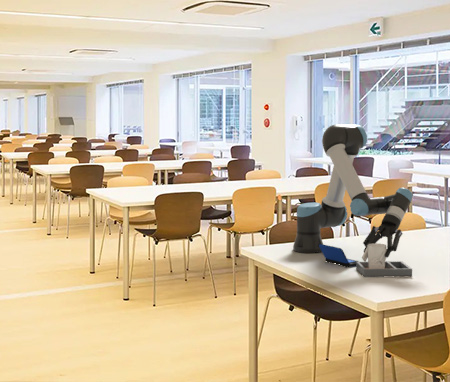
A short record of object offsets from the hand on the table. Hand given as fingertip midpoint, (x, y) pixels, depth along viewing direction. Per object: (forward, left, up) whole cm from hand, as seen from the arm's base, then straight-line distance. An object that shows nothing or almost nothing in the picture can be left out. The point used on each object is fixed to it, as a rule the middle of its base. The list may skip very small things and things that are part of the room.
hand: (372, 261), depth 279 cm
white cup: (+2, +2, -4) cm, 5 cm away
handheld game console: (-9, +20, -6) cm, 23 cm away
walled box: (+5, +2, -6) cm, 8 cm away
